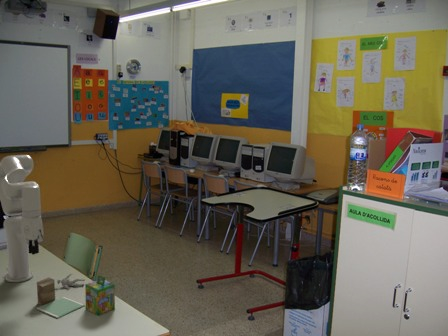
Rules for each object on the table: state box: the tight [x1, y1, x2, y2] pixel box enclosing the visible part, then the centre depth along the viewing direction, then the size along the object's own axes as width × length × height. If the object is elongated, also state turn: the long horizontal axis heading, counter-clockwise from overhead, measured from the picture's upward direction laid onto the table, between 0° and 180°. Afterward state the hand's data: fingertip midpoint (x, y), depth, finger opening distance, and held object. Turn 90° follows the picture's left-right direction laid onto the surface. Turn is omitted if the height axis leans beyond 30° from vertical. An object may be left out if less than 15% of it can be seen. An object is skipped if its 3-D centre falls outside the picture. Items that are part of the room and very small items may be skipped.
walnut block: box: [36, 276, 56, 306], centre depth 209 cm, size 4×6×10 cm
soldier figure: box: [56, 273, 86, 290], centre depth 226 cm, size 8×5×12 cm
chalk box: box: [84, 274, 116, 316], centre depth 203 cm, size 9×9×15 cm
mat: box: [35, 296, 85, 320], centre depth 204 cm, size 14×14×1 cm
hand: (33, 252), depth 210 cm, fingers closed
